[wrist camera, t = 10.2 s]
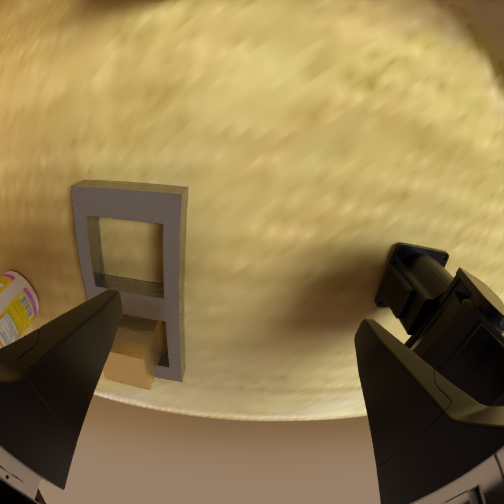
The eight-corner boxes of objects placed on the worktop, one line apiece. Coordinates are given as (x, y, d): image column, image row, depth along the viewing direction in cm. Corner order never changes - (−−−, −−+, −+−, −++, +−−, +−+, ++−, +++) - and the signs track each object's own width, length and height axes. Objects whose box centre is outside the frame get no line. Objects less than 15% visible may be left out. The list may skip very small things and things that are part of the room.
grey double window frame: (188, 187, 19) (181, 194, 18) (185, 368, 28) (182, 382, 27) (84, 179, 19) (71, 186, 17) (112, 353, 28) (106, 365, 26)
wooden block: (161, 312, 25) (143, 359, 19) (164, 344, 27) (150, 390, 21) (118, 304, 24) (94, 347, 19) (125, 336, 27) (106, 378, 21)
